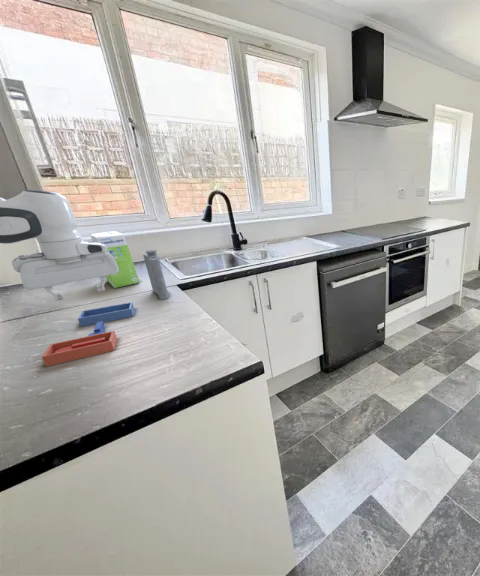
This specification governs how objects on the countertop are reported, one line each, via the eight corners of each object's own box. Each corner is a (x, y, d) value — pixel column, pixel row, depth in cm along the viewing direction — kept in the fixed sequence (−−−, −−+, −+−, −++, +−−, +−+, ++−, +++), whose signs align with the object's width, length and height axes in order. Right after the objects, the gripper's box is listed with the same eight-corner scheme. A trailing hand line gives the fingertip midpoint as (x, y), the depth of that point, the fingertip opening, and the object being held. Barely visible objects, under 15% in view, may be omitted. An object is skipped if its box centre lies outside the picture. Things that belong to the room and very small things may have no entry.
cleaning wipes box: (105, 281, 154) (89, 233, 146) (131, 276, 162) (117, 230, 154) (113, 289, 143) (96, 237, 135) (140, 283, 151) (125, 234, 143)
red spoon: (108, 343, 94) (105, 335, 93) (106, 349, 90) (103, 341, 89) (58, 355, 88) (55, 346, 87) (55, 361, 85) (51, 352, 84)
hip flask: (152, 292, 139) (140, 248, 132) (163, 289, 141) (152, 246, 135) (160, 301, 128) (148, 254, 121) (172, 298, 131) (160, 252, 124)
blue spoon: (94, 330, 103) (91, 323, 102) (110, 327, 105) (107, 320, 104) (89, 343, 95) (85, 335, 94) (105, 340, 97) (103, 332, 96)
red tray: (46, 368, 83) (41, 356, 81) (54, 354, 89) (50, 344, 88) (114, 351, 90) (111, 341, 89) (117, 340, 96) (114, 330, 95)
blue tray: (81, 328, 105) (77, 318, 104) (85, 319, 111) (82, 310, 110) (133, 317, 113) (130, 308, 111) (134, 310, 119) (132, 302, 118)
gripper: (10, 258, 78) (32, 308, 82) (112, 244, 93) (126, 287, 98) (7, 255, 81) (28, 303, 86) (106, 242, 97) (120, 284, 101)
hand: (81, 295), depth 92 cm, fingers open, 8 cm apart
